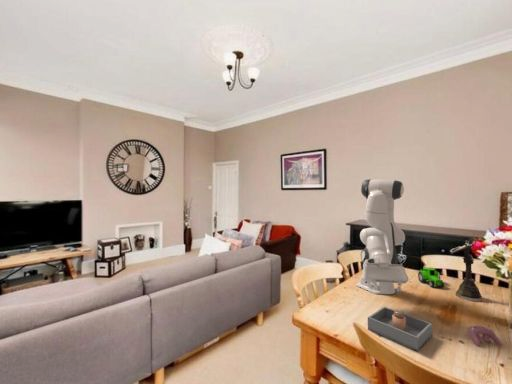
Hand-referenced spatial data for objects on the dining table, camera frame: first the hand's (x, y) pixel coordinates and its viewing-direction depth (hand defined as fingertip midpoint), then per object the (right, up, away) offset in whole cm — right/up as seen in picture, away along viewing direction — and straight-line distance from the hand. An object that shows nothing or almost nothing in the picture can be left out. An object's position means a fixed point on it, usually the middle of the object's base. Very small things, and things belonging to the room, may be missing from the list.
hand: (388, 290), depth 117 cm
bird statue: (+58, -14, +27) cm, 65 cm away
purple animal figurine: (+30, -15, -16) cm, 37 cm away
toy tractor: (+53, -14, +46) cm, 72 cm away
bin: (0, -15, -8) cm, 17 cm away
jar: (0, -14, -8) cm, 16 cm away
